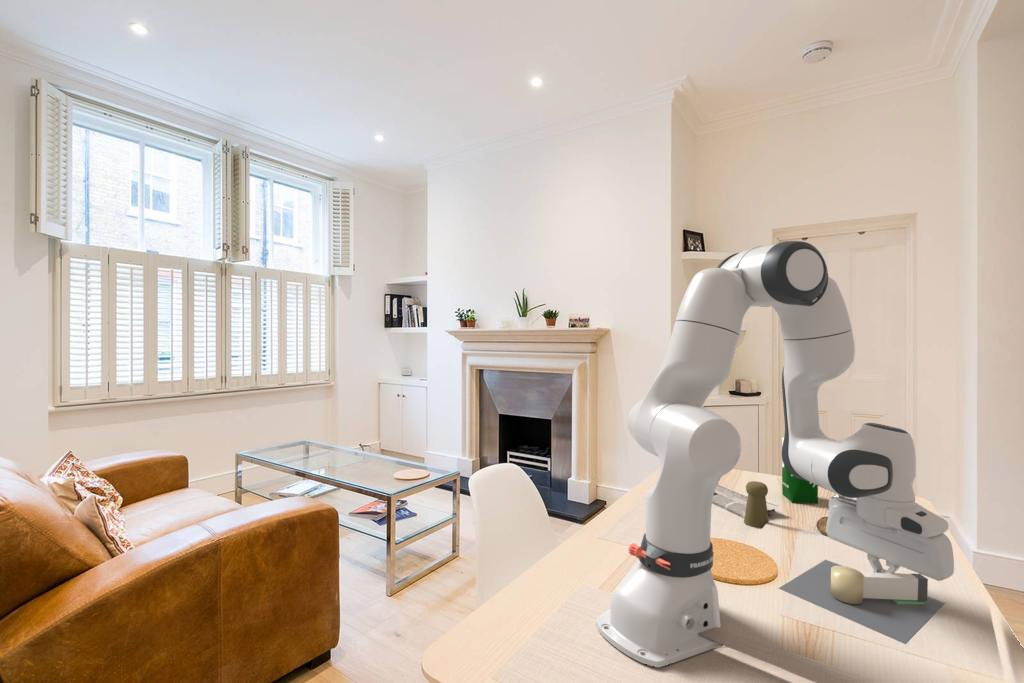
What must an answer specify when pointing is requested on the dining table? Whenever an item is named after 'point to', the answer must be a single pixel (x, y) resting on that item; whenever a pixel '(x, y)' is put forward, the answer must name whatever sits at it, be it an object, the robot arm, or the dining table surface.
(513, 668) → the dining table surface
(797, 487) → the milk carton
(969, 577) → the dining table surface
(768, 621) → the dining table surface
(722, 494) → the newspaper
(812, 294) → the robot arm
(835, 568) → the dial lever
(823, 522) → the bread roll
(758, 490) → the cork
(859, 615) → the dial board
